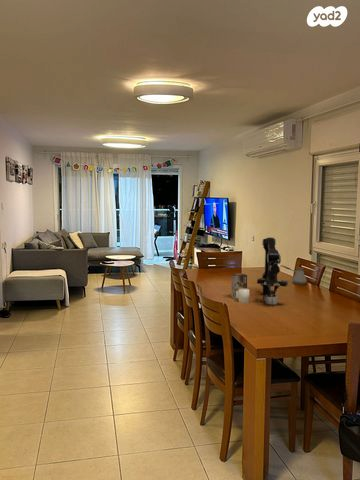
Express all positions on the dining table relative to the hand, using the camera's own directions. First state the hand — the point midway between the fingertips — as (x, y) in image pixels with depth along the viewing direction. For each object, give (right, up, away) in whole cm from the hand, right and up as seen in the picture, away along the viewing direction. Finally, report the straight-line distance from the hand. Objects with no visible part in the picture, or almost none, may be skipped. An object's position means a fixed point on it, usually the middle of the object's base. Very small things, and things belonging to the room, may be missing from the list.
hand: (271, 295), depth 265 cm
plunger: (0, -5, 0) cm, 5 cm away
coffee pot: (+31, 0, +65) cm, 72 cm away
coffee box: (-19, -4, +17) cm, 25 cm away
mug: (-17, -5, +7) cm, 19 cm away
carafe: (-1, -6, +1) cm, 6 cm away
